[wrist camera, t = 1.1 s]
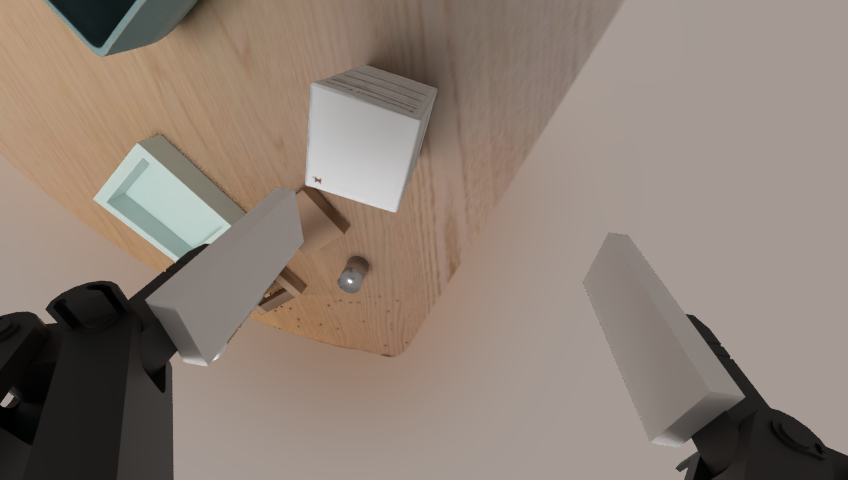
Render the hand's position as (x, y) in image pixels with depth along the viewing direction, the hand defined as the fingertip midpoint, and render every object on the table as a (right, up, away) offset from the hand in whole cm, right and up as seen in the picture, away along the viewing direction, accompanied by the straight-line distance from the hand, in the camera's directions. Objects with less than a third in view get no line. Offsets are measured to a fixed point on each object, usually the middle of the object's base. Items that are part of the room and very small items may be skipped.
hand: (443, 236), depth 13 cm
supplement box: (-4, +13, +18) cm, 22 cm away
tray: (-33, +5, +28) cm, 43 cm away
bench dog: (-10, -4, +30) cm, 32 cm away
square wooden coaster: (-15, +3, +27) cm, 31 cm away
